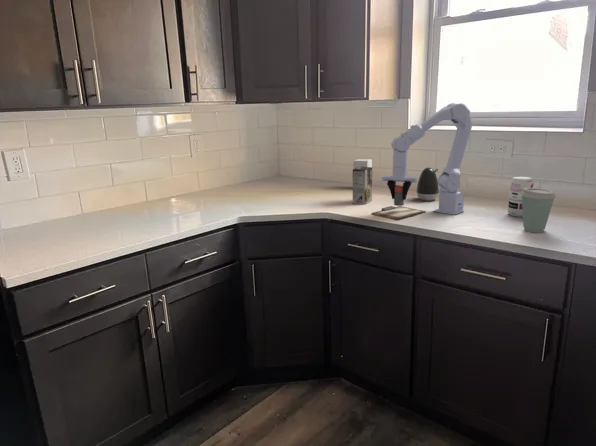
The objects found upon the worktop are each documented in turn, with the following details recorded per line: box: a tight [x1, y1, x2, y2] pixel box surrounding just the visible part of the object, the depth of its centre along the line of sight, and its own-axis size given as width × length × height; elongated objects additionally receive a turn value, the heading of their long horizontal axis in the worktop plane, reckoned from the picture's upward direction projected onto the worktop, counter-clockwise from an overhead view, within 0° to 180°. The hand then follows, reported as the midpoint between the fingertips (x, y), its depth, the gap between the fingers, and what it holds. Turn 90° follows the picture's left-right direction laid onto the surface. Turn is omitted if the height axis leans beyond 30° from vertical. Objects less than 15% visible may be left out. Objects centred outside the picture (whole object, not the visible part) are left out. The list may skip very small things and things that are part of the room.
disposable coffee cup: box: [521, 187, 556, 234], centre depth 165 cm, size 11×11×15 cm
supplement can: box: [507, 175, 534, 218], centre depth 187 cm, size 8×8×15 cm
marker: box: [393, 184, 405, 207], centre depth 195 cm, size 4×4×8 cm
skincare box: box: [352, 158, 373, 169], centre depth 249 cm, size 8×7×16 cm
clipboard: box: [371, 205, 427, 221], centre depth 197 cm, size 14×18×2 cm
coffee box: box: [352, 166, 373, 206], centre depth 218 cm, size 9×6×16 cm
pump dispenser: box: [415, 167, 440, 202], centre depth 219 cm, size 10×10×15 cm
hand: (399, 198), depth 195 cm, fingers closed on marker, 4 cm apart
